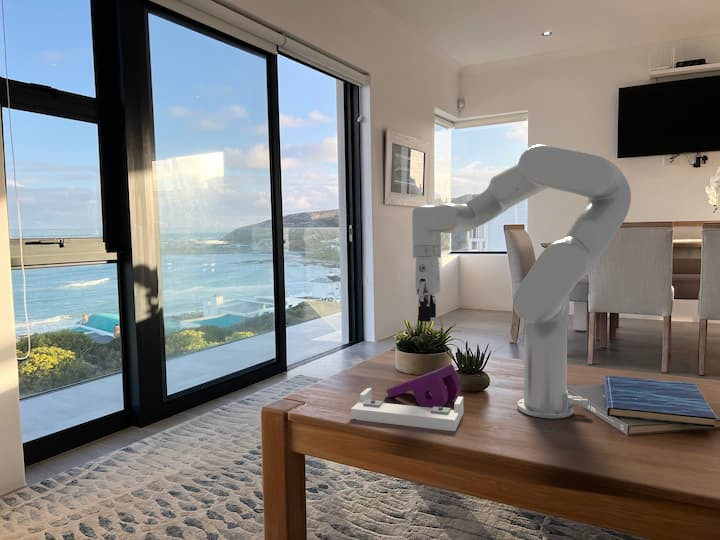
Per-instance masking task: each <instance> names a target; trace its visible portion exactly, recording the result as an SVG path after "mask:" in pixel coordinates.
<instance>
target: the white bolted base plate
mask: <svg viewBox="0 0 720 540" xmlns="http://www.w3.org/2000/svg"><path fill="white" fill-rule="evenodd" d="M463 416H464V396H460V395H459V396H458V398H456V399H455V401H454V406H453V409H451V407H445V406H443V407H436V406H433V407H432V408H428V407H421V406H416V405H406V404H398V403H397V404H395V403H388V402H384V400H377V399H376V400H375V399H373V389H372V387H367V388H366V389H364V390H363V391H362V392H361V393H360V394H359V400H358V402H356V403H355V405H353V406H352V407H351V408H350V419H351V420H353V419H356V420H355V421H363V422H371V423H373V422H374V423H380V424H389V425H398V426H406V427H413V428H414V427H415V428H422V429H433V430H439V431H440V430H441V431H448V432H456V430H457V429H458V428H457V427H458V426H459V424H460V422H461V420H462V418H463Z"/></svg>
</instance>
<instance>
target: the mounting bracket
mask: <svg viewBox="0 0 720 540" xmlns="http://www.w3.org/2000/svg"><path fill="white" fill-rule="evenodd" d="M410 391H411V392H413V395H414V397H415V400H416V403H418V405H419V407H428V408H432V407H433V406H436V407H445V406H446V404H449V403H451V402H453V401H456V400H457V398H458V396H460V395H461V391H462V385H461V382H460V378H459V377H458V373H457V372H456V369H455V367H454V365H453V363H452V364H449V365H446V366H444V367H442V368H438V369H436V370H433V371H430V372H428V373H425V374H421V375H419V376H416V377H413V378H411V379H408V380H406V381H404V382H401V383H398V384H396V385H394V386H391V387H388V388H387V389H386V390H385V392H386V394H387V396H388V398H393V397H395V396H399V395H401V394H405V393H407V392H410Z"/></svg>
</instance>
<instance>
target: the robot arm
mask: <svg viewBox="0 0 720 540" xmlns="http://www.w3.org/2000/svg"><path fill="white" fill-rule="evenodd" d="M548 188H550V189H554V190H559V191H562V192H566V193H569V194H575V195H578V196H582V197H586V198H588V201H587V204H586V206H585V208H584V209H583V210H582V211H581V213H580V214H579V215H578V217H576V220H575V221H574V223H572V226H571V227H570V229H569V230H568V232H567V233H566V234H565V236H564V237H563V238H562V239H558V240H556V241H554V242H552V243H550V244H548V245H547V247H546V248H545V249H543V251H541V253H540V255H539V256H538V257H537V259H536V260H535V262H534V264H532V266H531V268H530V269H529V271H528V272H527V274H526V275H525V276H524V278H523V279H522V281H521V283H520V284H519V286H518V287H517V289H516V290H515V293H514V294H513V295H514V296H513V309H514V311H515V313H516V314H517V316H518V318H520V319H521V320H522V321H524V322H525V323H524V324H525V325H524V338H523V339H524V343H523V344H524V345H523V398H521V399H519V400H518V401H517V403H516V404H517V405H516V407H517V409H518V411H520V412H521V413H523V414H525V415H528V416H532V417H536V418H542V419H550V420H551V419H552V420H553V419H564V418H568V417H570V416H572V415H574V407H578V408H584V409H585V408H586V409H588V408H589V399H588V398H583V397H582V396H572V395H571V394H569V390H568V389H567V381H568V380H567V378H568V377H567V376H568V375H567V374H568V326H569V325H568V324H569V316H570V306H571V305H570V304H571V303H570V300H571V299H570V294H571V292H572V290H573V289H574V288H575V286H576V285H577V284H578V282H579V281H580V280H582V279H583V278H585V277H587V276H588V275H589V274H590V273H591V271H592V270H593V268H594V266H595V264H596V263H597V261H598V260H599V259H600V257H601V256H602V255H603V253H604V251H605V250H606V249H607V247H609V245H610V242H611V241H612V240H613V239H614V237H615V235H616V234H617V232H618V231H619V230H620V228H621V227H622V225H623V223H624V221H625V220H626V217H627V215H628V213H629V211H630V207H631V203H632V194H631V188H630V184H629V182H628V180H627V177H626V176H625V175H624V173H623V172H622V170H621V169H620V168H619V167H618V166H617V165H616V164H615V163H614V162H612V161H610V160H608V159H607V158H605V157H603V156H601V155H597V154H593V153H592V154H591V153H587V152H580V151H575V150H572V149H571V150H570V149H566V148H560V147H557V146H553V145H549V144H548V145H547V144H536V145H532V146H530V147H528V148H527V149H526V150H524V151H523V153H522V154H521V155H520V158H519V159H518V162H517V163H515V164H513V165H512V166H510V167H508V168H507V169H505V170H503V171H501V172H499V173H498V174H495V175H494V176H492V178H491V179H490V182H489V185H488V186H487V188H486V189H485V190H484V191H483V192H482V193H480V194H478V195H477V196H475V197H473V198H471V199H470V200H468V201H466V202H464V203H461V204H460V203H444V204H438V205H420V206H419V205H417V206H414V208H413V209H412V214H411V217H412V218H411V221H412V225H411V227H412V230H411V231H412V258H413V259H415V275H414V276H415V278H414V279H415V280H414V281H415V283H414V285H415V286H414V287H415V294H416V295H417V296H418V305H417V307H418V310H417V311H418V321H419V322H423V323H424V322H426V323H430V322H431V320H432V318H433V319H435V318H436V317H437V303H436V300H437V299H436V295H437V294H440V292H441V276H440V275H441V273H440V271H441V270H440V261H439V260H440V259H441V258H442V233H443V234H458V233H460V234H461V233H462V234H463V233H467V232H472V230H475V229H477V228H479V227H481V226H483V225H485V224H487V223H488V222H490V221H492V220H494V219H495V218H497V217H498V216H500V215H502V214H503V213H505V212H506V211H508V210H509V209H510V208H512V207H513V206H515V205H518V204H519V203H521V202H523V201H525V200H526V199H528V198H530V197H532V196H535V195H536V194H539V193H540V192H542V191H545V190H546V189H548Z"/></svg>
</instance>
